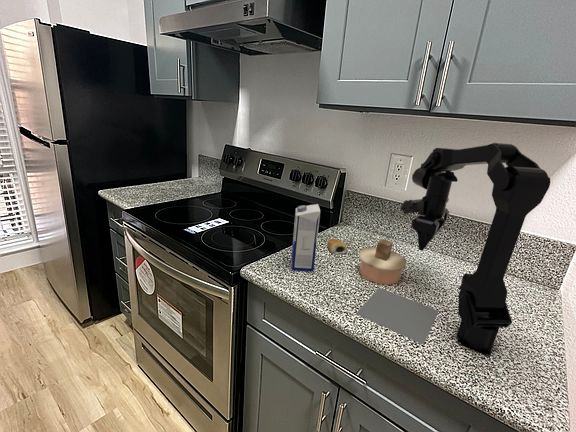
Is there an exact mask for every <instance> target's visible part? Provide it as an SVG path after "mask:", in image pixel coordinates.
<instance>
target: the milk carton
mask: <svg viewBox="0 0 576 432" xmlns="http://www.w3.org/2000/svg"><path fill="white" fill-rule="evenodd" d="M320 208H321V207H320V206H319V204H318V203H316V204H309V205H299V206H297V207H296V208H295V213H294V224H293V226H294V227H293V233H292V234H293V235H292V247H291V257H290V263H291V265H290V266H291V271H295V272H297V271H298V272H311V273H313V272H314V269H315V260H316V251H317V243H318V236H319V226H320V219H321V209H320Z"/></svg>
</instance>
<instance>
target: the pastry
mask: <svg viewBox="0 0 576 432" xmlns="http://www.w3.org/2000/svg"><path fill="white" fill-rule="evenodd" d="M327 249H328V251H329V252H330V253H331V254H333V255H342V254H343V255H344V254H347V252H348V250H349V249H348V246H347V244H345V242H343V241H341V240H339V239H334V238H331V239H329V240H328V241H327Z"/></svg>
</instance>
